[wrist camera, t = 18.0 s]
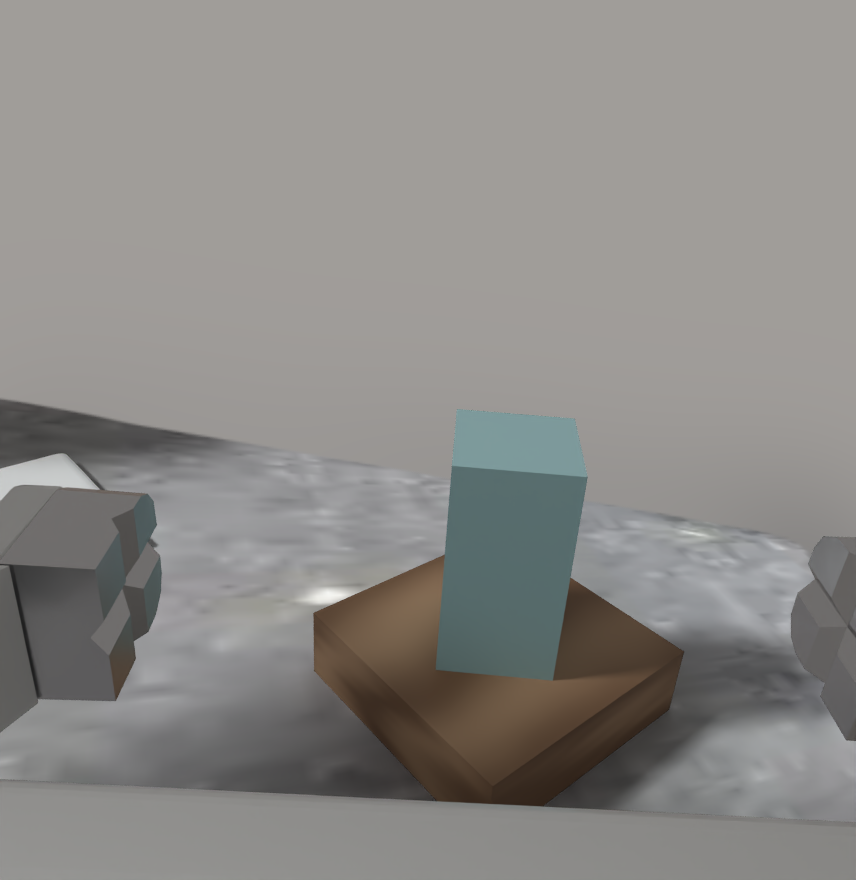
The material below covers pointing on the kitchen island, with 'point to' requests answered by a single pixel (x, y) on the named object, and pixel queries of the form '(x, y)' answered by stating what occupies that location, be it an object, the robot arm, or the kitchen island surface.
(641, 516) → the kitchen island surface
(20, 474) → the external hard drive
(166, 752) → the kitchen island surface
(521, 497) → the teal block
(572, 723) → the walnut block
